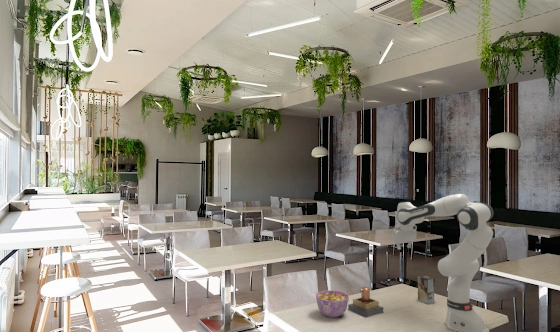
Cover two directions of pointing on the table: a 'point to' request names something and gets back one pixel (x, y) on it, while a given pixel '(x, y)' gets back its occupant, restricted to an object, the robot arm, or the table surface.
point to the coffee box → (426, 289)
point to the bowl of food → (332, 302)
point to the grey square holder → (365, 307)
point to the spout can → (365, 295)
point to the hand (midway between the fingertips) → (404, 248)
